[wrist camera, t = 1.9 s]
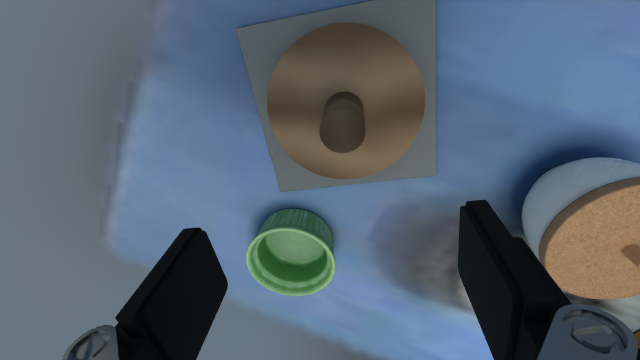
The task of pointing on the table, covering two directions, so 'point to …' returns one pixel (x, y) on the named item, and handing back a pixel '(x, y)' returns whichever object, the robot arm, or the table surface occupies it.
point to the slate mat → (382, 13)
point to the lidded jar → (587, 226)
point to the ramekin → (292, 253)
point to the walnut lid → (346, 101)
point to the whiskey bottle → (637, 338)
